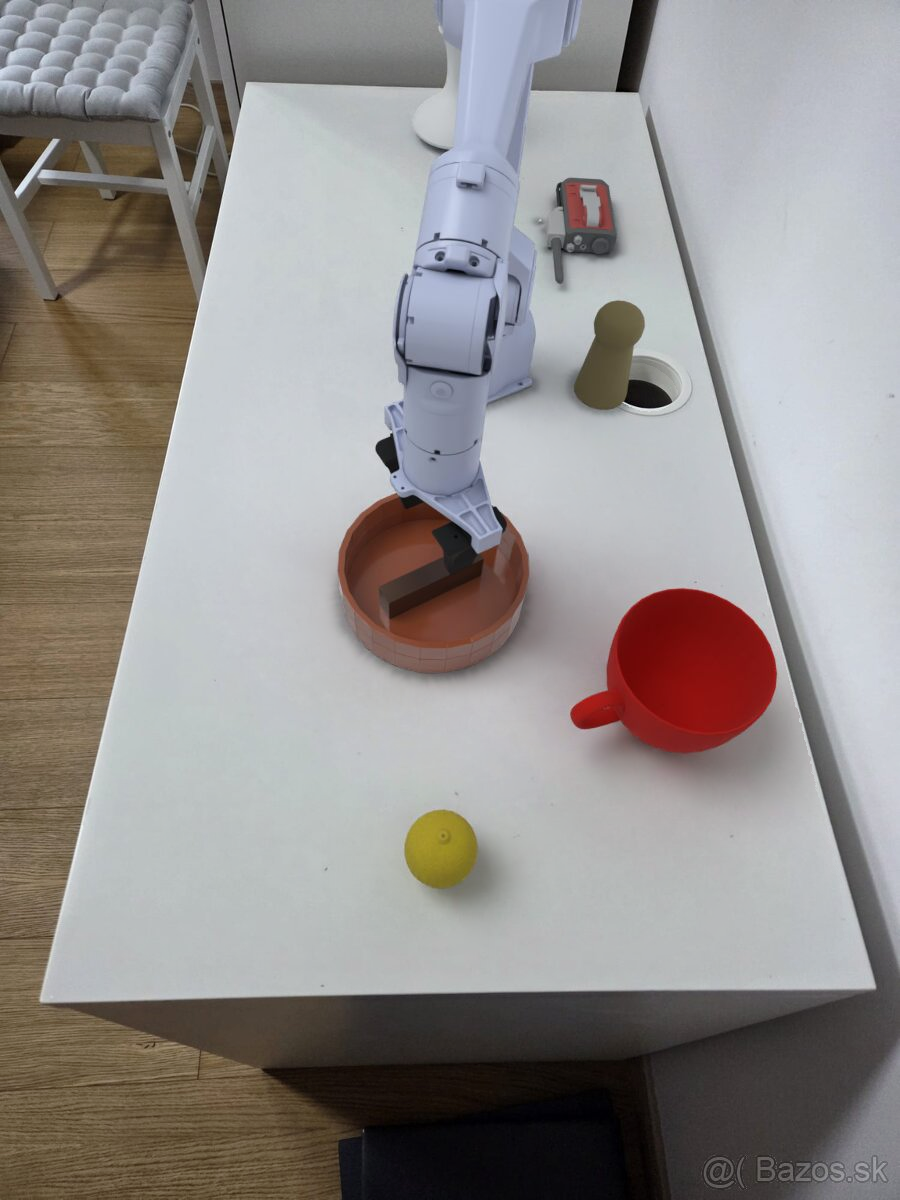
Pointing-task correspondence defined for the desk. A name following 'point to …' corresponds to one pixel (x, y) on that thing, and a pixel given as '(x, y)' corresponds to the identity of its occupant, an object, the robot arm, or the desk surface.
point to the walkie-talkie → (580, 220)
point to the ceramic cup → (684, 673)
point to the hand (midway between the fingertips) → (436, 534)
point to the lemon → (441, 849)
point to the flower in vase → (440, 106)
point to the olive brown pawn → (610, 356)
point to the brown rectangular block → (424, 585)
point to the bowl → (443, 624)
